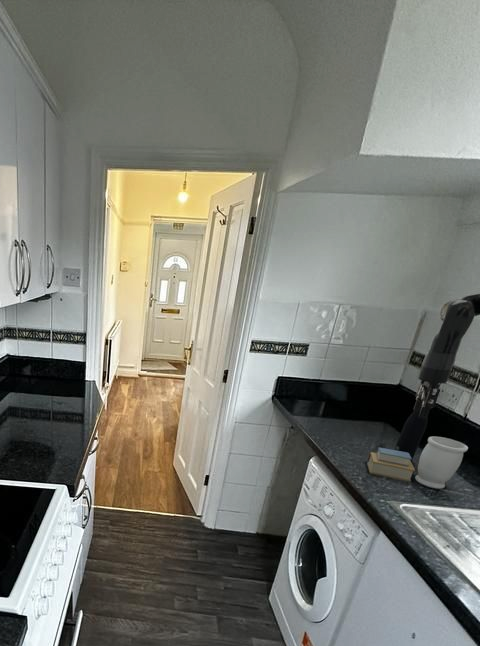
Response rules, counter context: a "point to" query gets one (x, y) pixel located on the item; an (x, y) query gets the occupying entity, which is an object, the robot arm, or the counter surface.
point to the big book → (389, 468)
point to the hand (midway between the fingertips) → (419, 414)
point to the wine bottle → (411, 434)
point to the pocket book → (393, 456)
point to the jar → (439, 461)
